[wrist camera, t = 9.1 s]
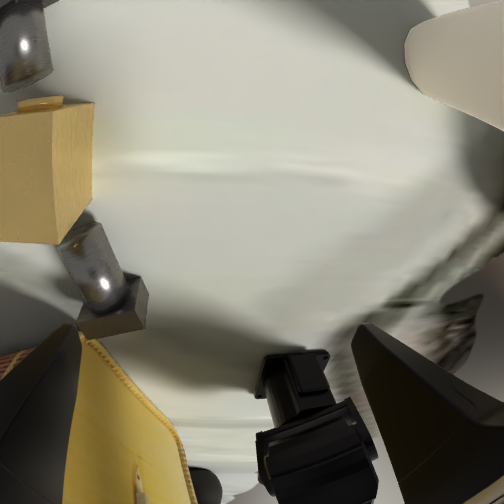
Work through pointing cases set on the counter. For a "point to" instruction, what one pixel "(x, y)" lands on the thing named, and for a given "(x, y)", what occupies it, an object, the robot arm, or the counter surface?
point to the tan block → (44, 169)
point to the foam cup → (461, 60)
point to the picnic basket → (117, 439)
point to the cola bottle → (206, 486)
